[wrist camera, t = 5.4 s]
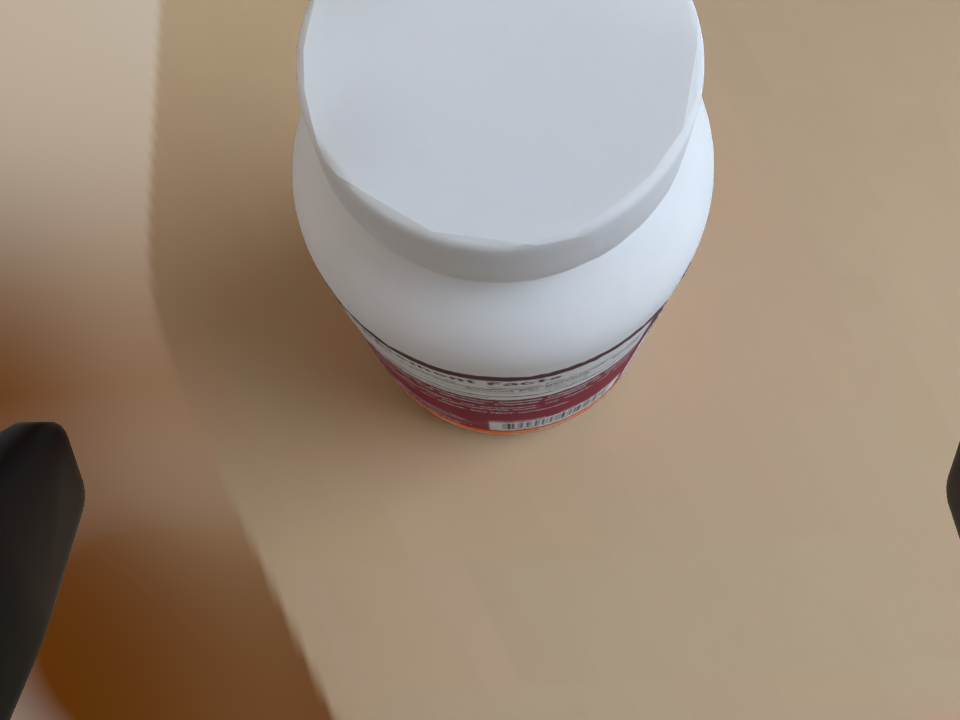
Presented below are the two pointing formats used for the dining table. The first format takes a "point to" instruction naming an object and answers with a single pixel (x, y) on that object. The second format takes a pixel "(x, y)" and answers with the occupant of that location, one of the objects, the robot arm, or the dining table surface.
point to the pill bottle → (502, 190)
